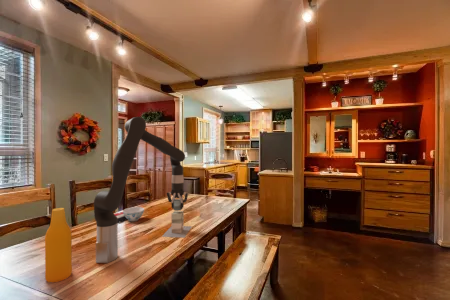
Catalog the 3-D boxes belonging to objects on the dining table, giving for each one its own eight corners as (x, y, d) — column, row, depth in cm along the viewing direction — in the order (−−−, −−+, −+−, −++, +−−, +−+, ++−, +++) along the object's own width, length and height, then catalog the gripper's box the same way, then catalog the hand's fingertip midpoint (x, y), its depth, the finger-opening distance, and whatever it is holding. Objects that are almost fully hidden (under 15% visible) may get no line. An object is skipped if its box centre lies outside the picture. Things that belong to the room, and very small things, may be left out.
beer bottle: (54, 285, 92) (53, 213, 91) (40, 280, 95) (39, 210, 95) (77, 273, 100) (76, 207, 100) (62, 269, 104) (62, 205, 103)
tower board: (184, 240, 136) (184, 237, 136) (161, 239, 137) (161, 236, 137) (191, 228, 155) (191, 226, 155) (171, 227, 156) (171, 225, 156)
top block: (180, 223, 143) (180, 214, 143) (171, 223, 143) (171, 213, 143) (183, 220, 149) (183, 211, 149) (174, 220, 149) (174, 211, 149)
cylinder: (180, 210, 143) (180, 201, 143) (172, 210, 144) (172, 201, 144) (182, 208, 148) (182, 199, 148) (174, 208, 149) (174, 199, 149)
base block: (180, 233, 143) (180, 223, 143) (171, 232, 143) (171, 223, 143) (183, 229, 149) (183, 220, 149) (174, 229, 149) (174, 220, 149)
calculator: (132, 213, 179) (117, 217, 165) (132, 218, 179) (116, 223, 165) (122, 211, 183) (105, 215, 170) (121, 216, 183) (105, 221, 169)
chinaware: (120, 219, 174) (120, 209, 174) (140, 215, 183) (140, 206, 183) (126, 224, 162) (126, 213, 162) (147, 220, 172) (147, 210, 172)
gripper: (164, 182, 142) (164, 209, 143) (187, 183, 141) (187, 210, 141) (168, 180, 150) (168, 206, 150) (190, 181, 149) (190, 207, 149)
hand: (177, 208), depth 146 cm, fingers closed on cylinder, 4 cm apart
